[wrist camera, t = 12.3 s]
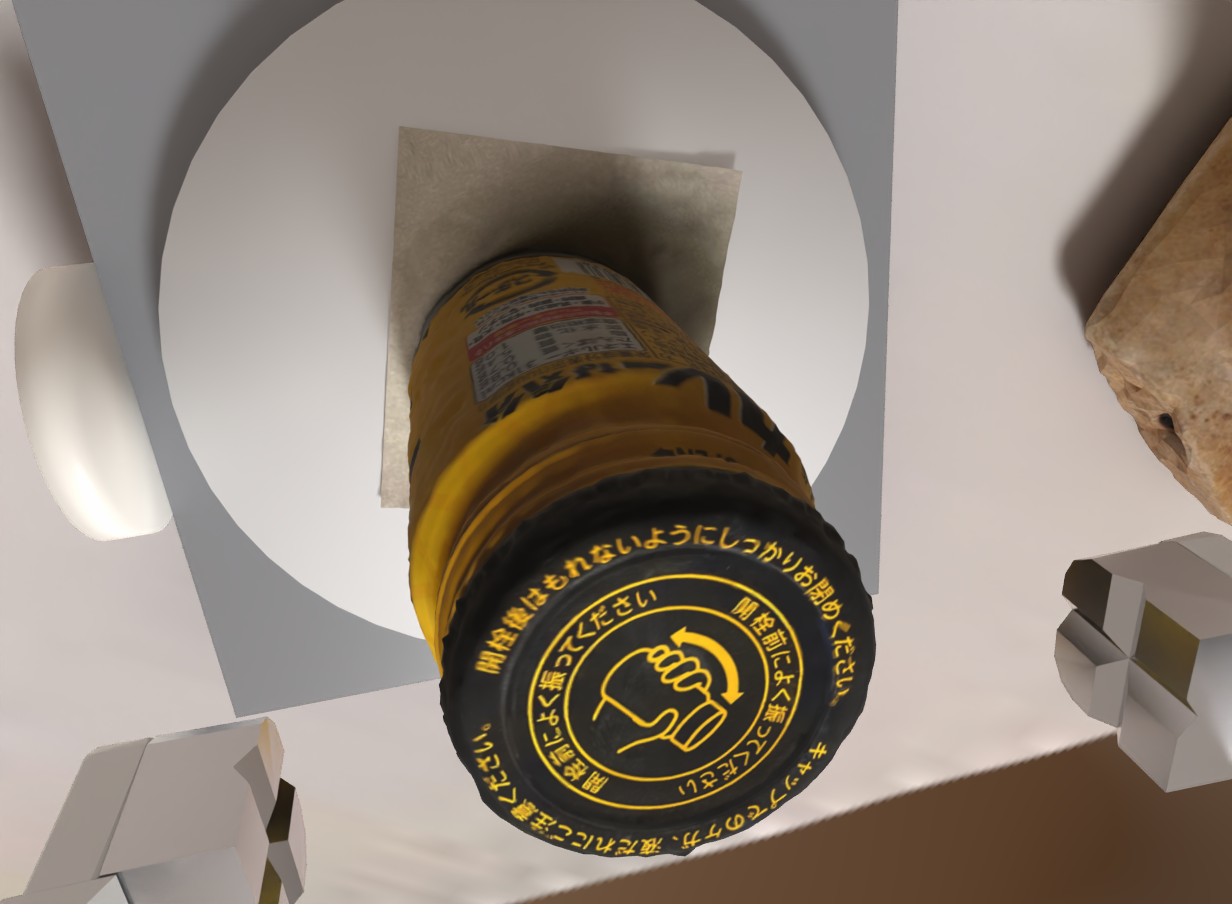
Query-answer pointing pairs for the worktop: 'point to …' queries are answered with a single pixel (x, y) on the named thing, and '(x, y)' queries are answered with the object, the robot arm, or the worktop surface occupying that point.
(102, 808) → the robot arm
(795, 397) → the scale
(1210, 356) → the stone cup
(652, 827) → the condiment
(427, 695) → the worktop surface
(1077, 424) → the worktop surface
